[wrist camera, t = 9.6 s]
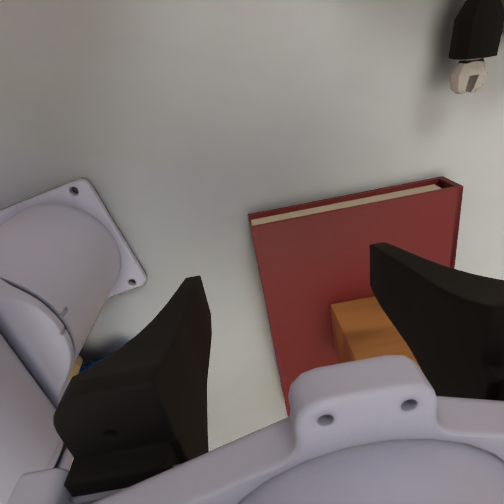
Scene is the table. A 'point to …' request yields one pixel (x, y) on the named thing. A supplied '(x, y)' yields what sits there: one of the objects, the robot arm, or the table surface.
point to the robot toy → (475, 42)
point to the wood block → (365, 331)
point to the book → (342, 259)
